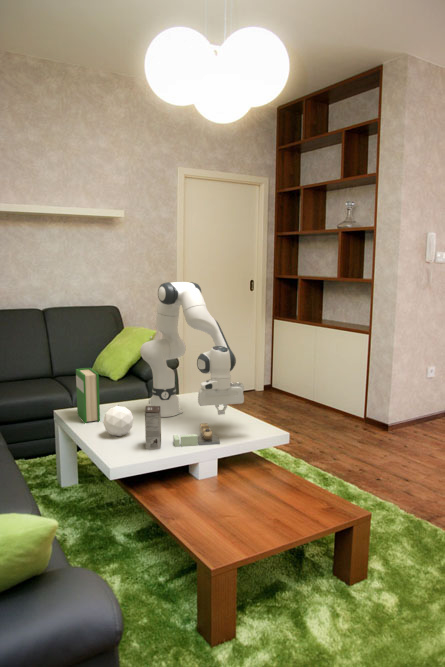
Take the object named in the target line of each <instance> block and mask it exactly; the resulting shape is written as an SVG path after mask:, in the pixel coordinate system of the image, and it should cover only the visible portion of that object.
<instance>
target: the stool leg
mask: <svg viewBox="0 0 445 667" xmlns="http://www.w3.org/2000/svg"><path fill="white" fill-rule="evenodd" d="M199 424H200V426H199V427H200V432H201V436H203V437H204V439H206V440H210V439H212V435H213V431H212V430H211V428H210V426H209V425H208V423H205V422H204V423H199Z"/></svg>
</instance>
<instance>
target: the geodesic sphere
mask: <svg viewBox="0 0 445 667" xmlns="http://www.w3.org/2000/svg"><path fill="white" fill-rule="evenodd" d="M134 421H135V420H134V416H133V413H132V411H131V410H130V409H128V408H127V407H125V406H122V405H120V404H117V405H116V406H112V407H111V408H108V410H107V411H106V413H105V414H104V416H103V422H102V423H103V426H104V429H105V432H107V433H109V434H110V435H111V436H116V437H117V436H118V437H121V436H125V435H127V434H129V432H130V431H131V429H132V428H133V425H134Z"/></svg>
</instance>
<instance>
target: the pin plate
mask: <svg viewBox="0 0 445 667" xmlns="http://www.w3.org/2000/svg"><path fill="white" fill-rule="evenodd" d="M197 436H198V435H197ZM220 444H221V442H220V439H219V436H217V435H215V434H212V439H210V440H206V439H204V437H203V435H199V436H198V445H199V446H208V445H209V446H210V445H220Z"/></svg>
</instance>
